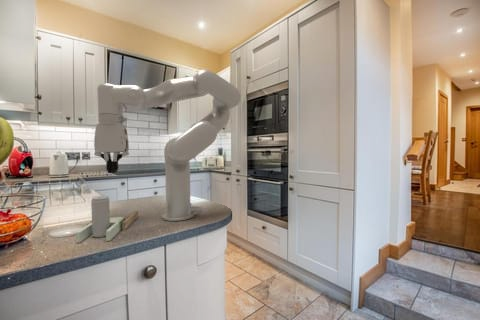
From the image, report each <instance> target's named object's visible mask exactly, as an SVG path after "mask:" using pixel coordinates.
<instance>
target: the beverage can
mask: <svg viewBox="0 0 480 320" xmlns="http://www.w3.org/2000/svg"><path fill="white" fill-rule="evenodd" d="M109 197H110V196H107V195H101V196H93V197H91V201H90V202H91V204H90V205H91V221H92V234H91V235H92V236H93V237H94V238H103V237H106V231H107V230H108V229H109V228H110V218H111V217H110V216H111V214H110V198H109Z"/></svg>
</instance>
